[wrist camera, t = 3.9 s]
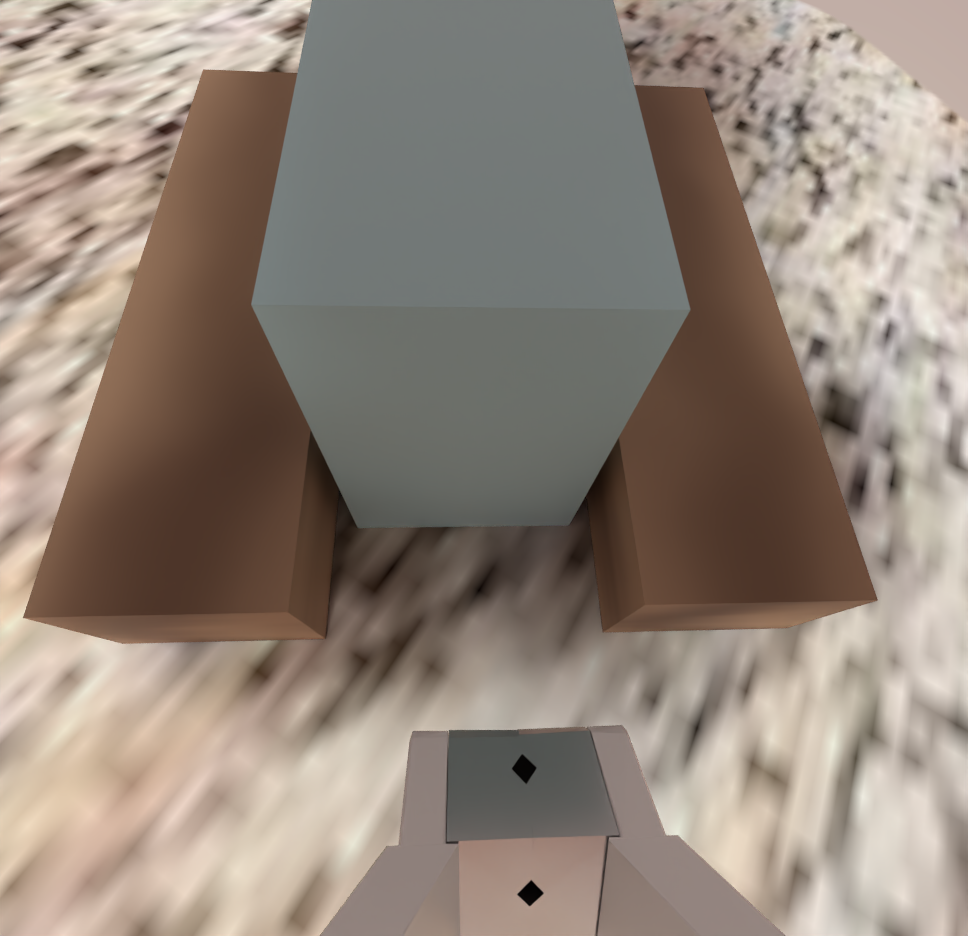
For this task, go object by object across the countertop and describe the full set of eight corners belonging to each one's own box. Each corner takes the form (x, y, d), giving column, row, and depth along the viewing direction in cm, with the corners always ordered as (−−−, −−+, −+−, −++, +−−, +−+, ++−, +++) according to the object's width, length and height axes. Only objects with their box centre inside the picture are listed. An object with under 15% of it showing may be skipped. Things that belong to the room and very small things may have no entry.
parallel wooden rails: (122, 643, 14) (23, 617, 10) (240, 166, 21) (203, 69, 18) (786, 628, 15) (877, 600, 11) (668, 178, 22) (703, 87, 19)
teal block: (358, 528, 15) (251, 304, 7) (380, 226, 21) (332, -101, 12) (568, 526, 16) (689, 309, 8) (538, 230, 21) (591, -87, 13)
